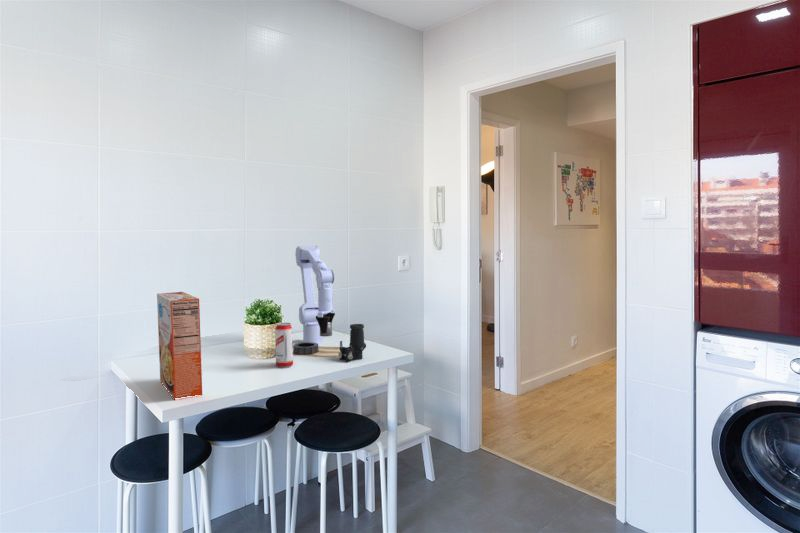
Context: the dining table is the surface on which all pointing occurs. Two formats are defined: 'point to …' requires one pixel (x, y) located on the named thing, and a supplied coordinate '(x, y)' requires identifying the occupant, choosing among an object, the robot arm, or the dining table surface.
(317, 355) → the tan wooden board
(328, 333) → the grey domed cylinder
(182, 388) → the cereal box
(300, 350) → the segmented dark ring
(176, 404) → the dining table surface
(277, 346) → the beer can
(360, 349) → the scope
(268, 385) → the dining table surface
